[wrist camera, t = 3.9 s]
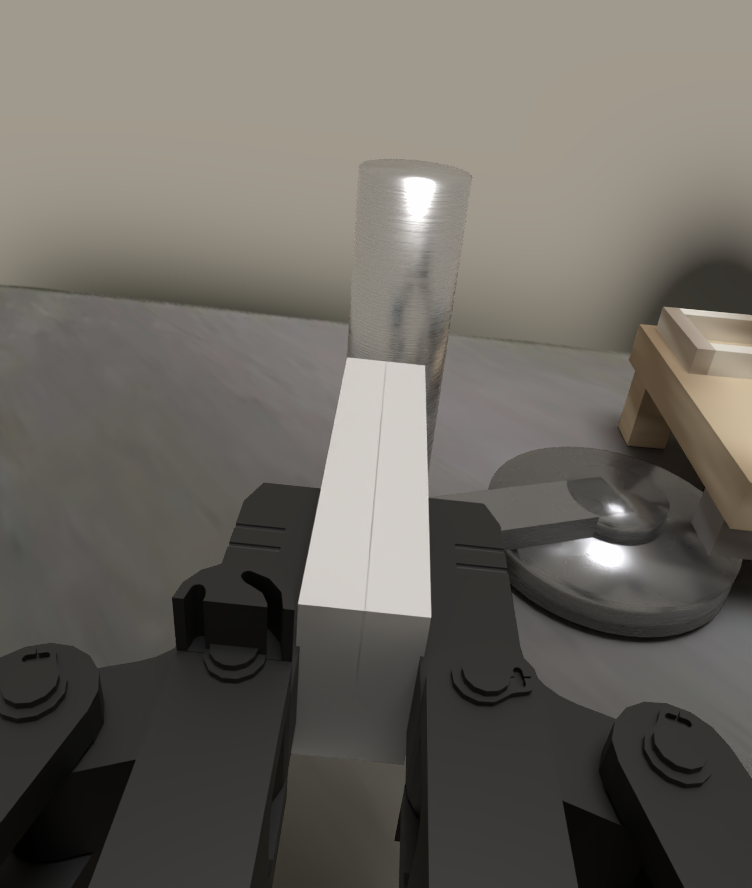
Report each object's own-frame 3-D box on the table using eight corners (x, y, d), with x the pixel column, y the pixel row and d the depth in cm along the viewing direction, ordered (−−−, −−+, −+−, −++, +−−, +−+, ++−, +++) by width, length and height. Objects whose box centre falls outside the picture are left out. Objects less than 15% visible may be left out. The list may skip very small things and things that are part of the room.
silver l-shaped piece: (631, 467, 35) (737, 151, 27) (784, 612, 27) (997, 223, 19) (305, 505, 30) (318, 135, 22) (372, 697, 22) (429, 223, 14)
